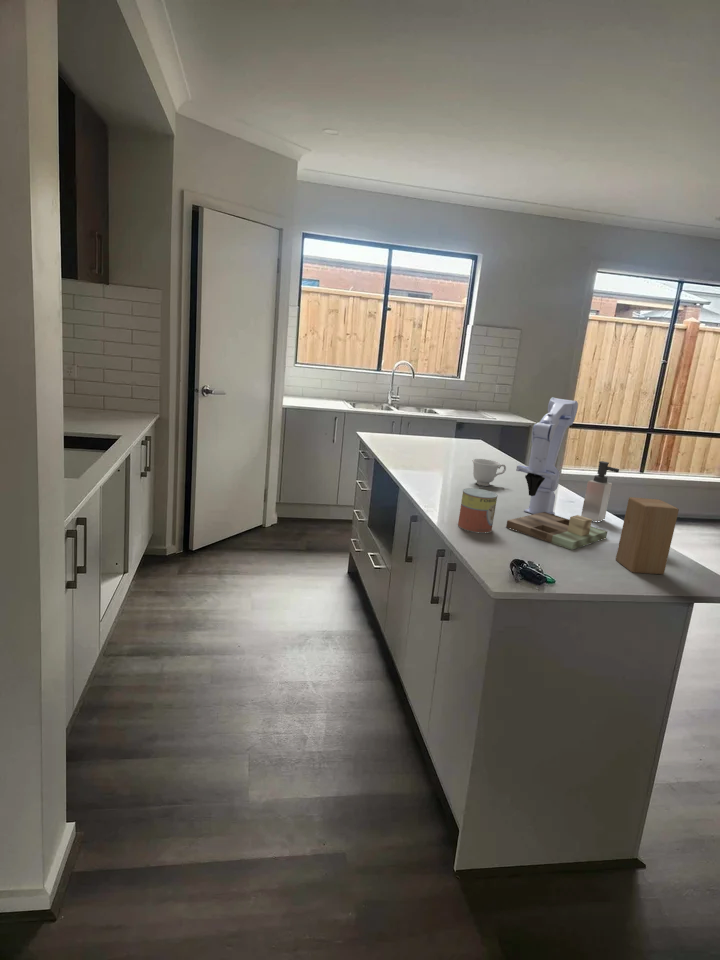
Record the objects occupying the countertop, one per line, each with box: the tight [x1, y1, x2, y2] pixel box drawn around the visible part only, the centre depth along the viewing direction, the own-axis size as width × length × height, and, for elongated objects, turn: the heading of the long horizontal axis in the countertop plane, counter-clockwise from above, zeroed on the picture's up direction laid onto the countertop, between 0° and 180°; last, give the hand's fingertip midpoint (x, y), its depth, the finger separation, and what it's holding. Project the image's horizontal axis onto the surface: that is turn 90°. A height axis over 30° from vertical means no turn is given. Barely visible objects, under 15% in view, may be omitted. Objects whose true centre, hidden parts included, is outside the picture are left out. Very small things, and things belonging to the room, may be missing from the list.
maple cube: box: [568, 514, 593, 536], centre depth 203 cm, size 5×5×5 cm
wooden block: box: [615, 496, 679, 575], centre depth 181 cm, size 10×10×20 cm
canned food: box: [457, 487, 498, 534], centre depth 204 cm, size 11×11×12 cm
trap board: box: [505, 512, 608, 551], centre depth 209 cm, size 24×24×2 cm
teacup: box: [472, 458, 507, 487], centre depth 270 cm, size 12×15×10 cm
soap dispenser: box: [580, 460, 620, 522], centre depth 229 cm, size 6×9×22 cm
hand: (531, 495), depth 218 cm, fingers closed
